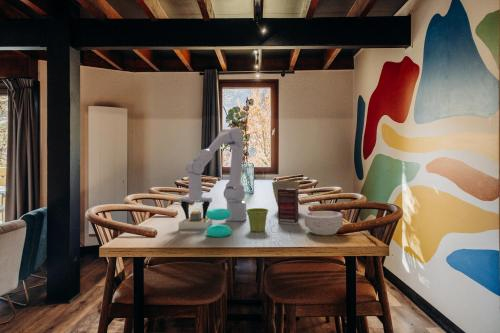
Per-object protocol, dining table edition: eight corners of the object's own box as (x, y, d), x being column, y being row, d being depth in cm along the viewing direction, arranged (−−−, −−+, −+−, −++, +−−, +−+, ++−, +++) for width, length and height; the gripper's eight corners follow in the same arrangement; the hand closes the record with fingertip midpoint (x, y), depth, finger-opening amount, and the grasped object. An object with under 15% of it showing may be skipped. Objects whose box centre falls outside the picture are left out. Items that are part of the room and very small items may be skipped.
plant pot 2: (281, 208, 202) (280, 180, 202) (304, 210, 194) (304, 181, 193) (267, 211, 190) (266, 182, 189) (291, 214, 182) (290, 184, 181)
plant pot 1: (253, 234, 141) (252, 212, 141) (242, 229, 149) (242, 209, 149) (272, 231, 145) (272, 210, 145) (261, 227, 154) (261, 207, 153)
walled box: (212, 223, 162) (211, 217, 161) (206, 229, 150) (206, 222, 149) (186, 223, 163) (186, 217, 163) (178, 229, 151) (178, 222, 151)
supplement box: (298, 222, 161) (298, 188, 161) (295, 225, 157) (295, 189, 156) (281, 221, 165) (280, 187, 164) (277, 223, 161) (277, 189, 160)
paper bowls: (301, 229, 149) (300, 210, 148) (336, 228, 150) (336, 209, 149) (309, 238, 134) (309, 217, 133) (348, 237, 135) (348, 216, 134)
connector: (201, 223, 158) (201, 210, 158) (199, 225, 154) (199, 212, 154) (192, 223, 159) (192, 210, 158) (190, 225, 155) (190, 212, 154)
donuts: (212, 207, 147) (234, 208, 143) (213, 231, 147) (235, 232, 144) (201, 211, 138) (224, 212, 134) (201, 236, 138) (225, 238, 135)
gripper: (176, 189, 152) (177, 220, 153) (209, 189, 151) (209, 220, 151) (181, 187, 159) (181, 217, 160) (212, 187, 158) (213, 217, 158)
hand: (195, 218), depth 156 cm, fingers open, 7 cm apart
